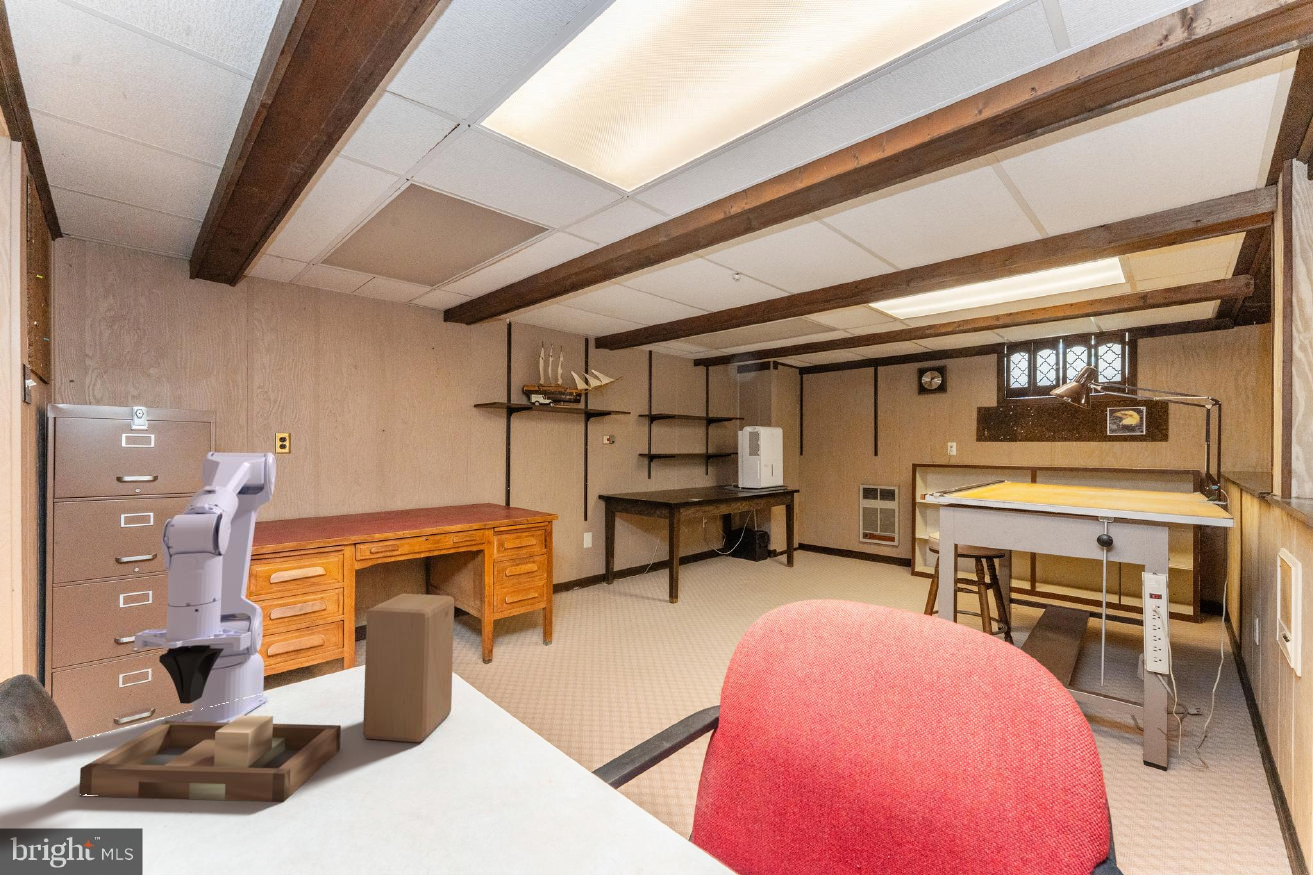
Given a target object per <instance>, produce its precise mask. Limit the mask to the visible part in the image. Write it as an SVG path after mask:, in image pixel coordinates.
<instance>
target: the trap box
mask: <svg viewBox="0 0 1313 875" xmlns="http://www.w3.org/2000/svg"><path fill="white" fill-rule="evenodd" d="M227 724H229V722H189V721H181V720H179V721H178V720H166V721H164V722H162V723H160V724H158V725H156V726H155V727H153V728H151V729H149V730H147V731H145V732H143V733H142V734H140V735H138V736H137V737H134V738H133V739H131V740H129V741H127V742H126V743H124V744H122V745H120V746H118V747H116V748H114V749H113V750H111V751H109V752H107V753H106V754H104V755H101V756H100V757H98V758H96V759H95V760H93V761H91V762H89V763H87V764H85V765H83V766H82V767H80V768H79V769H80V770H79V791H78V792H79V794H81V795H85V794H87V795H98V796H102V797H101V798H125V799H126V798H130V799H131V798H132V799H163V800H164V799H165V800H166V799H170V800H171V799H172V800H174V799H175V800H208V801H212V800H213V801H238V802H240V801H243V802H248V801H249V802H275V803H276V802H278V803H279V802H281V803H283V802H284V803H285V801H286V800H288V799H289V798H290V797H291V795H293V793H295V792H296V791H297V790H298V789H300V787H301V786H303V785H304V784H305V782H307V781H308V780H309V779H310V778H311V777H313V775H314V774H315V773H316V772H317V771H318V770H320V769H321V768H322V767H323V766H324V765H325V764H326V763H327V762H328V761H330V759H331V758H332V757H333V756H335V755H336V754H337V753H338V752H339V751H340V750H341V733H342V732H341V730H342V727H341V726H342V725H340V724H339V725H338V724H337V725H336V724H304V723H303V724H302V723H299V724H298V723H297V724H296V723H273V733H272V749H271V750H269V751H268V752H267V753H265V754H264V755H263V756H262V757H260V758H259V759H258V760H256V761H255V762H254V763H252V764H251V765H250V766H248V767H227V766H214V755H215V732H216V731H218V730H219V729H221V728H222V727H224V726H225V725H227ZM79 794H78V795H79ZM104 796H105V797H104Z"/></svg>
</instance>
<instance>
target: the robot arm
mask: <svg viewBox="0 0 1313 875" xmlns="http://www.w3.org/2000/svg"><path fill="white" fill-rule="evenodd" d="M276 460H277V459H276V456H275V455H274V454H273V453H272V452H271V451H270V452H265V453H263V452H261V453H260V452H257V453H256V452H216V451H209V452H208V453H207V454H206V455H205V456H204V457H203V460H202V464H201V479H202V482H203V484H204V487H202V488H200V489H198V490H197V491H195V492H194V494H193V495H192V497H191V499H190V500H189V502H188V503H187V504H186V507H185V508H184V509H183V511H182V513H181V514H176V515H175V516H174V517H173V518H168V519H167V520H166V521H165V522H164V525H163V529H162V534H161V548H162V554H163V559H164V562H163V563H164V564H163V565H164V566H163V568H164V570H165V571H167V573H168V576H167V597H166V598H167V600H166V603H167V604H166V605H167V606H166V624H165V625H166V628H164V629H163V628H162V629H160V628H159V629H146V630H143V631H140V632H138V633H135V634H134V649H143V648H146V647H149V648H151V647H152V648H162V649H167V650H166V653H163V654H160V656H158V662H159V663H160V664H161V665H162V666H163V667H164V668H165V670H166V671H167V673H168V674H169V676H170V678H171V680H172V681H173V684H174V688H175V690H176V693H177V696H178V701H179V702H180V704H182V705H183V704H192V706H193V708H192V713H191V714H189V715H188V716H185V717H184V718H183V719H181V720H180V721H189V722H229V723H230V722H232V721H233V720H235V719H237V718H238V717H240V716H241V715H247V714H248V713H250V712H252V711H253V710H255V709H256V708H258V707H259V706H261V705H262V704H264V703H266V702H268V700H269V697H266V696H264V685H265V684H264V683H265V679H264V677H265V663H264V662H265V661H264V659H263V657H262V656H261V654H260V653H258V652H259V651H260V649H261V647H262V642H263V630H264V628H263V627H264V625H263V618H264V616H263V615H264V614H263V613H264V612H263V610H262V608H261V607H260V606H259V605H258V604H257V603H254V602H253V601H251V600H249V599H248V598H246V595H247V587H248V581H249V580H248V579H249V572H250V566H251V557H252V551H253V550H252V549H253V541H254V535H255V527H256V526H255V525H256V520H257V517H258V513H259V510H260V508H261V506H263V505H265V504H267V503H269V502H271V501H272V496H273V495H274V492H275V489H274V488H275V484H276V482H275V481H276V476H277V475H276V472H277V461H276ZM261 693H263V694H262V695H257V694H261ZM252 695H256V696H254V697H249V696H252ZM244 697H249V698H245V699H243V698H244ZM236 699H238V700H236ZM235 700H236V701H235ZM226 702H229V703H226ZM222 703H225V704H222ZM218 704H220V705H218ZM215 705H217V706H215ZM210 706H213V707H210ZM202 708H203V709H202ZM201 709H202V710H201Z"/></svg>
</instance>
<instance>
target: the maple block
mask: <svg viewBox="0 0 1313 875" xmlns="http://www.w3.org/2000/svg"><path fill="white" fill-rule="evenodd" d="M273 724H274V716H272V715H247V714H245V715H241V716H240V717H238V718H237V719H235V720H233V721H232V722H230V723H229V724H227V725H225V726H224V727H222V728H221V729H219V730H218V731H216V732H215V755H214V766H227V767H248V766H250V765H251V764H252V763H254V762H255V761H256V760H258V759H259V758H260V757H262V756H263V755H264V754H265V753H267V752H268V751H269V750H271V749H272V733H273Z"/></svg>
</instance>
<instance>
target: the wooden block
mask: <svg viewBox="0 0 1313 875" xmlns="http://www.w3.org/2000/svg"><path fill="white" fill-rule="evenodd" d="M454 617H455V599H454V596H450V595H439V594H438V595H437V594H420V593H419V594H418V593H417V594H416V593H401V594H399V595H396V596H394V597H392V598H390V599H388V600H386V601H384V602H382V603H381V602H380V603H379V604H377V605H374V606H373V607H370V608H369V609H368V611H367V613H366V624H365V625H366V628H365V630H366V631H365V660H364V661H365V663H364V664H365V666H364V692H363V693H364V694H363V695H364V696H363V720H362V721H363V722H362V725H363V726H362V727H363V728H362V731H363V732H362V734H363V737H364V738H366V739H368V740H369V739H370V740H371V739H372V740H383V741H393V742H394V741H397V742H408V743H409V742H410V743H420V742H423V741H425V740H426V739H427V738H428V737H429V736H430V735H431V734H432V733H433V732H434V731H435V730H436V729H437V728H439V726H440V725H441V724H442V722H444V721H445V720H446V719H447V718H448V717H449V716H450V713H451V712H452V696H453V694H452V693H453V691H452V690H453V662H454V661H453V658H454V656H453V655H454V654H453V653H454V628H455V627H454V626H455V624H454V621H455V618H454Z"/></svg>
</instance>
